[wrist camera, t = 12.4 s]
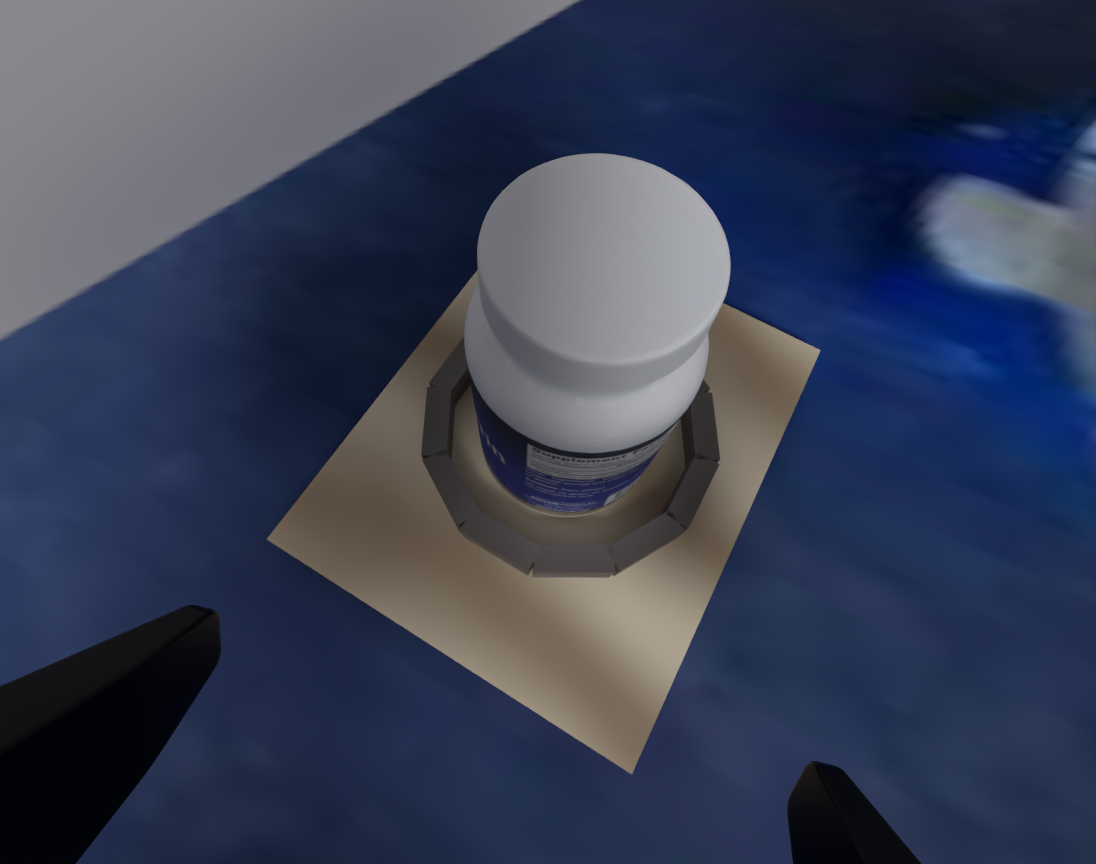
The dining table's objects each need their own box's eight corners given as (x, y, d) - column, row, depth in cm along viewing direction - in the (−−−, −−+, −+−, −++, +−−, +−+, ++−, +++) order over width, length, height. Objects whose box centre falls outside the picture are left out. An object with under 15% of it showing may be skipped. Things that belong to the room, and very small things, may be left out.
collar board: (625, 767, 17) (640, 783, 15) (279, 545, 19) (249, 531, 17) (807, 363, 22) (837, 333, 20) (526, 224, 24) (526, 184, 22)
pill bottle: (479, 369, 20) (448, 128, 11) (635, 364, 21) (731, 128, 11) (482, 527, 18) (447, 393, 9) (656, 518, 18) (796, 381, 9)
